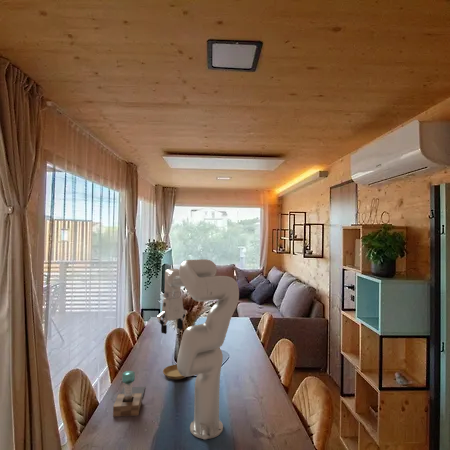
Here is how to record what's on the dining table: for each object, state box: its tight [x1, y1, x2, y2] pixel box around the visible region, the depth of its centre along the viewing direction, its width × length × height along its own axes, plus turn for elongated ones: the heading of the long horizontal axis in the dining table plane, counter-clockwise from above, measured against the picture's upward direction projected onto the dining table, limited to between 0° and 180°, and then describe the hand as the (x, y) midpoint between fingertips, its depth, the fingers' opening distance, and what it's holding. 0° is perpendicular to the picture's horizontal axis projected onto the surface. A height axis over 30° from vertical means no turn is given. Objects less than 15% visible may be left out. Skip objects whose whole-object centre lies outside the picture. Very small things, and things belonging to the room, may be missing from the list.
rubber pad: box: [120, 386, 146, 399], centre depth 149 cm, size 10×10×1 cm
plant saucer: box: [162, 364, 186, 380], centre depth 169 cm, size 15×15×3 cm
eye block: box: [112, 393, 143, 417], centre depth 136 cm, size 10×10×4 cm
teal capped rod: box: [121, 370, 136, 402], centre depth 136 cm, size 5×5×15 cm
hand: (172, 330), depth 154 cm, fingers open, 9 cm apart
